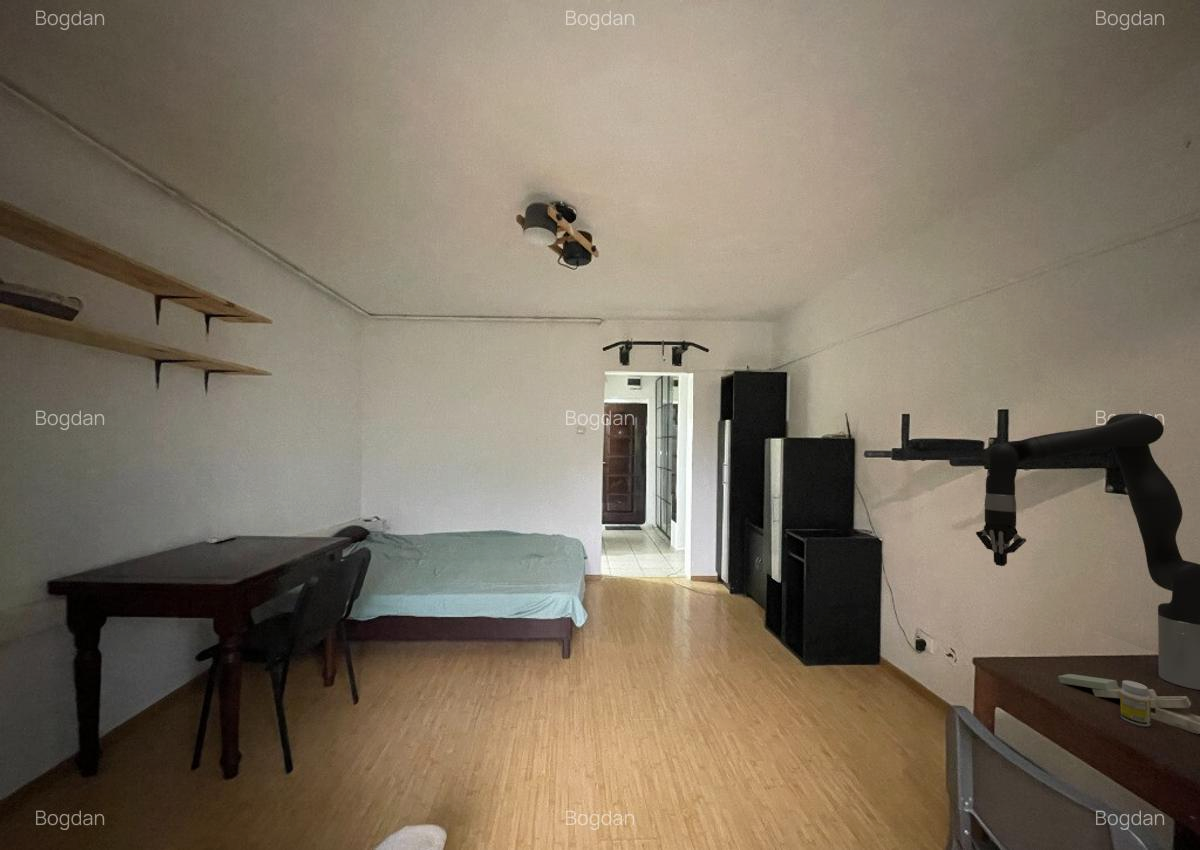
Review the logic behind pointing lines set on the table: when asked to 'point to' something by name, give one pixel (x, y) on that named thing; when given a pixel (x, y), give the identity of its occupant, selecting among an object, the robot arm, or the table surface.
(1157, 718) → the domino
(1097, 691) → the domino
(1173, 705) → the domino
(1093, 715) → the table surface
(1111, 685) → the domino
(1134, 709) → the supplement bottle
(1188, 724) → the domino
